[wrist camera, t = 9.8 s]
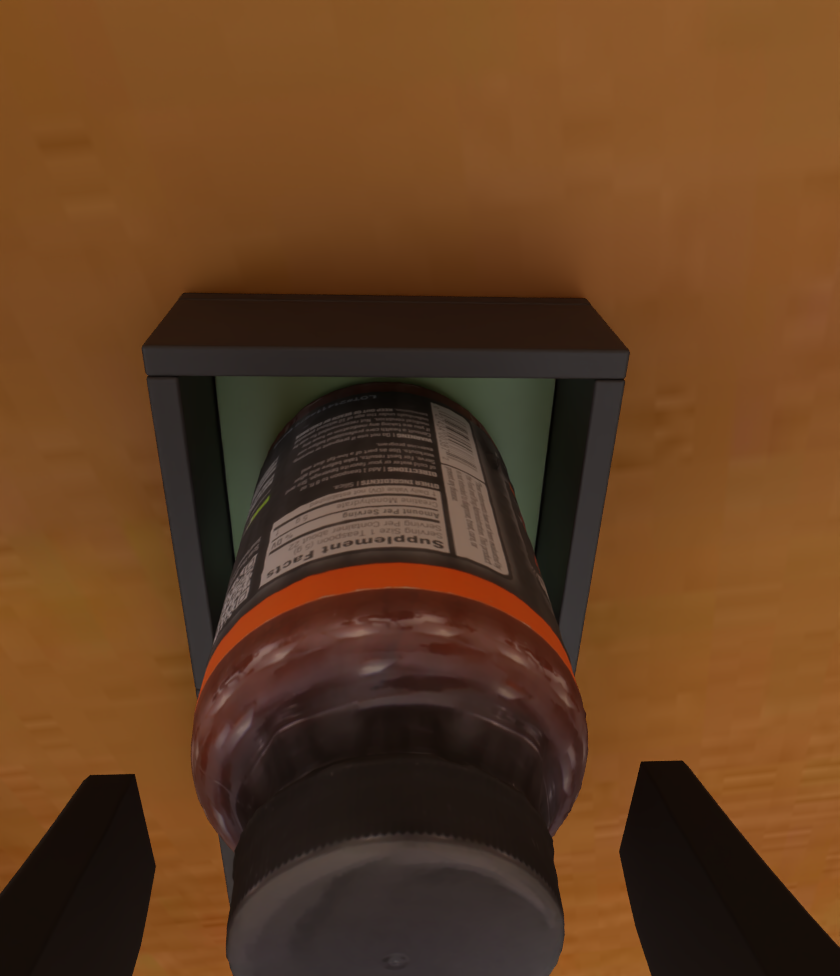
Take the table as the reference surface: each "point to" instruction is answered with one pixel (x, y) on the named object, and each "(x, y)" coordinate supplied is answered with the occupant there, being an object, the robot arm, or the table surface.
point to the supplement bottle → (388, 704)
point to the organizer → (381, 358)
